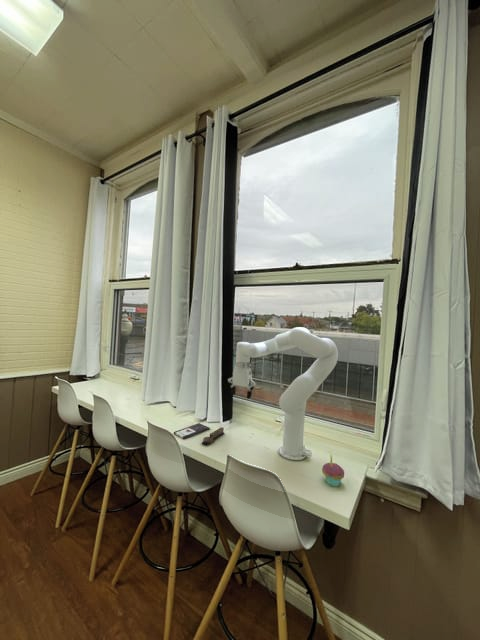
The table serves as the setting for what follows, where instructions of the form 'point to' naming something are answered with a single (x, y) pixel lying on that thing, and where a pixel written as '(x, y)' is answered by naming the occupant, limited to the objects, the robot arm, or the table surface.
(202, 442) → the black remote control
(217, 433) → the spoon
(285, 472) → the table surface
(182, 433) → the chocolate bar
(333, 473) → the cupcake
